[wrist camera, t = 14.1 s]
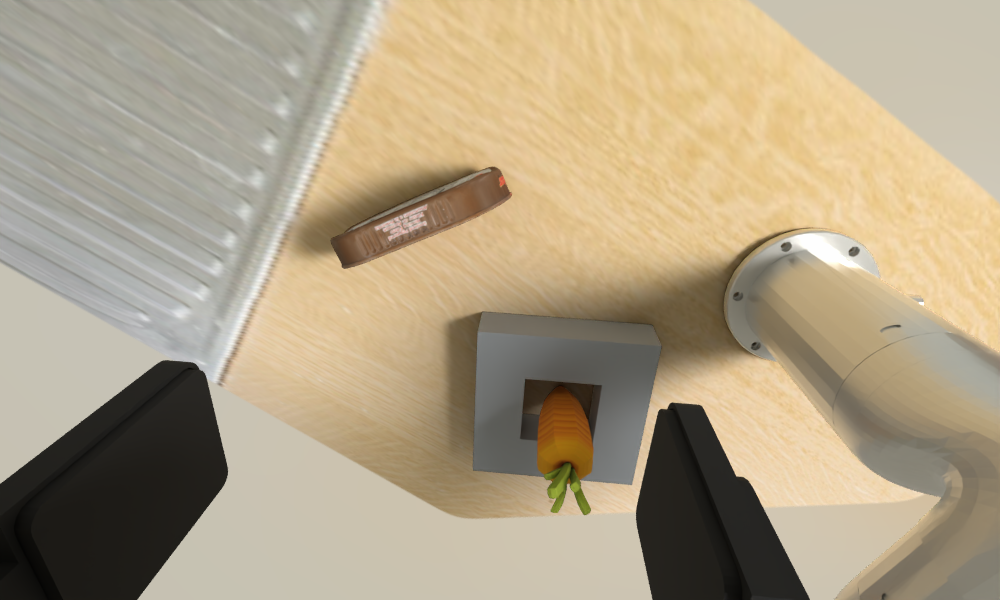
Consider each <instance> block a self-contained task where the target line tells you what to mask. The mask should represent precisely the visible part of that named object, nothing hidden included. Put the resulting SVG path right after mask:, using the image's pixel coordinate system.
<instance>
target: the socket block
mask: <svg viewBox="0 0 1000 600" xmlns="http://www.w3.org/2000/svg"><path fill="white" fill-rule="evenodd" d="M661 347H662V346H661V343H660V341H659V339H658V337H657V334H656V332H655V330H654V328H653V325H649V324H636V323H623V322H610V321H597V320H584V319H571V318H558V317H545V316H532V315H519V314H506V313H493V312H482V316H481V320H480V324H479V328H478V336H477V365H476V393H475V422H474V450H473V470H474V471H485V472H496V473H507V474H518V475H529V476H540V477H544V474H542V473H541V472H540V471H539V470H538V468H537V443H538V425H539V417H540V415H532V414H522V410H523V398H524V387H525V379H533V380H545V381H557V382H569V383H581V384H593V385H594V389H593V395H592V401H591V408H590V414H589V419H587V420H588V424H589V428H590V433H591V438H592V443H593V448H594V452H593V465H592V472H591V473H590V474H589V475H587V476H586V477H584V478H583V479H581V480H584V481H595V482H606V483H616V484H627V485H632V482H633V477H634V473H635V468H636V463H637V459H638V454H639V449H640V445H641V440H642V436H643V431H644V426H645V422H646V417H647V412H648V408H649V403H650V398H651V394H652V389H653V384H654V380H655V375H656V370H657V366H658V361H659V356H660V352H661Z"/></svg>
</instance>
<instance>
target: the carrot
mask: <svg viewBox="0 0 1000 600" xmlns="http://www.w3.org/2000/svg"><path fill="white" fill-rule="evenodd" d="M593 452H594V448H593V443H592V438H591V433H590V428H589V424H588V420H587V418H586V415H585V413H584V411H583V409H582V407H581V405H580V403H579V401H578V400H577V399H576V398H575V396H574V395H573V394H572V393H570V392H569V391H568V390H567V389H566V388H565V387H563V386H558V387H556V388H555V389H554V390H553V391H552V392H551V393H550V394H549V395H548V396H547V398H546V399H545V400H544V403H543V406H542V409H541V413H540V417H539V425H538V443H537V468H538V470H539V471H540V472H541V473H542V474H544V478H545V479H546V480H551V481H552V483H551V484H550V486H549V487H548V489H547V492H548V496H549V498H552V499H554V498H556V501H555V503H554V505H553V507H552V509H551V512H553V513H558V512H559V510H560V508H561V506H562V504H563V501H564V498H565V494H566V490H567V484H570V488H571V490H572V491H573V492H574V494H575V497H576V500H577V503H578V505H579V507H580V509H581V511H582V513H583V514H584V515H587V514H588V513H590V511H591V508H590V506H589V504H588V502H587V500H586V498H585V496H584V494H583V492H582V490H581V488H580V487H581V482H580V480H581V479H583V478H584V477H586V476H587V475H589V474H590V473H591V472H592V465H593Z"/></svg>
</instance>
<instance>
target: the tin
mask: <svg viewBox="0 0 1000 600" xmlns="http://www.w3.org/2000/svg"><path fill="white" fill-rule="evenodd" d="M511 196H512V193H511V192H509V190H508V187H507V185H506V182H505V180H504V177H503V175H502V173H501V171H500V170H499V169H498V168H496V167H489V168H486V169H483V170H480V171H478V172H475V173H473V174H470V175H468V176H465V177H463V178H460V179H458V180H456V181H453V182H451V183H448V184H446V185H444V186H441V187H439V188H436V189H434V190H431V191H429V192H426V193H424V194H422V195H419V196H417V197H415V198H412V199H410V200H408V201H406V202H403V203H401V204H399V205H397V206H394V207H392V208H390V209H388V210H386V211H383V212H381V213H379V214H377V215H375V216H372V217H370V218H368V219H366V220H364V221H362V222H360V223H358V224H356V225H354V226H352V227H350V228H349V229H348V230H346V231H345V232H344V233H343V234H341V235H339V236H336V237H333V238H332V239H331V244H332V246H333V248H334V250H335V252H336V254H337V256H338V258H339V260H340V261H341V263H342V268H344V269H347V268H351V267H355V266H358V265H360V264H363V263H366V262H368V261H371V260H374V259H376V258H379V257H381V256H384V255H386V254H388V253H391V252H394V251H396V250H399V249H401V248H403V247H406V246H408V245H411V244H413V243H416V242H418V241H421V240H423V239H426V238H428V237H431V236H433V235H436V234H438V233H440V232H443V231H446V230H448V229H451V228H453V227H456V226H458V225H461V224H463V223H465V222H467V221H470V220H472V219H474V218H476V217H478V216H480V215H482V214H484V213H486V212H488V211H490V210H492V209H494V208H496V207H497V206H499V205H501V204H502V203H504V202H505V201H507V200H508V199H509V198H510V197H511Z"/></svg>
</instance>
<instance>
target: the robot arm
mask: <svg viewBox="0 0 1000 600" xmlns="http://www.w3.org/2000/svg"><path fill="white" fill-rule="evenodd" d="M783 243H784V245H782V244H783ZM781 245H782V246H781ZM736 292H737V293H736ZM735 293H736V294H735ZM724 315H725V320H726V323H727V325H728V328H729V330H730V331H731V333H732V334H733V336H734V337H735V339H736V340H737V341H738V342H739V343H740V345H741V346H742V347H744V348H745V349H746V350H747V351H749V352H750V353H752V354H754V355H756V356H758V357H760V358H763V359H767V360H771V361H775V362H778V363H779V364H780V365H781V366H782V368H783V369H784V370H785V371H786V373H787V374H788V375H789V376H790V378H791V379H792V380H793V381H794V382H795V384H796V385H797V386H798V387H799V389H800V390H801V391H802V392H803V393H804V395H805V396H806V397H807V398H808V400H809V401H810V402H811V403H812V404H813V406H814V407H815V408H816V409H817V411H818V412H819V413H820V414H821V415H822V417H823V418H824V419H825V420H826V422H827V423H828V424H829V425H830V426H831V428H832V429H833V430H834V431H835V433H836V434H837V435H838V436H839V437H840V439H841V440H842V441H843V443H844V444H845V445H846V446H847V447H848V449H849V450H850V451H851V452H852V453H853V454H854V456H855V457H856V458H857V459H858V460H859V461H860V462H861V463H862V464H864V465H865V466H866V467H868V468H869V469H870V470H871V471H873V472H874V473H876V474H877V475H879V476H881V477H883V478H884V479H886V480H888V481H890V482H892V483H894V484H897V485H900V486H902V487H905V488H908V489H911V490H914V491H917V492H921V493H925V494H929V495H933V496H937V497H941V500H940V501H939V502H938V503H937V504H936V505H935V506H934V507H933V508H932V509H931V510H930V511H929V512H928V513H927V514H926V515H924V516H923V517H922V518H921V519H920V520H919V522H918V524H917V525H916V526H915V527H914V528H912V529H911V530H910V531H909V532H908V533H907V534H905V535H904V536H903V537H902V538H900V539H899V540H898V541H897V542H896V543H895V544H894V545H892V546H891V547H890V548H889V549H888V550H886V551H885V552H884V553H883V554H882V555H881V556H879V557H878V558H877V559H876V560H875V561H873V562H872V563H871V564H870V565H869V566H868V567H866V568H865V569H864V570H863V571H862V572H860V573H859V574H858V575H857V576H856V577H855V578H854V579H853V580H851V581H850V582H849V584H847V585H846V586H845V587H844V588H843V589H842V590H841V591H840V593H839V594H838V595H837V597H836V598H835V600H1000V352H999V351H997V350H996V349H994V348H992V347H991V346H989V345H987V344H986V343H984V342H982V341H981V340H979V339H978V338H976V337H974V336H973V335H971V334H969V333H968V332H966V331H964V330H963V329H961V328H960V327H958V326H956V325H955V324H953V323H951V322H950V321H948V320H946V319H945V318H943V317H942V316H940V315H938V314H937V313H935V312H933V311H932V310H930V309H928V308H927V307H925V306H924V301H923V298H922V297H921V296H919V295H907V294H904V293H902V292H901V291H899V290H897V289H896V288H894V287H893V286H891V285H889V284H888V283H886V282H884V281H883V280H881V276H880V272H879V268H878V265H877V263H876V261H875V259H874V257H873V255H872V254H871V253H870V252H869V251H868V250H867V249H866V247H865V246H864V245H862V244H861V243H859V242H858V241H856V240H855V239H853V238H851V237H849V236H847V235H845V234H843V233H840V232H837V231H833V230H829V229H819V228H809V229H800V230H795V231H791V232H788V233H784V234H781V235H779V236H777V237H775V238H773V239H770V240H768V241H767V242H765V243H764V244H762V245H761V246H759V247H758V248H756V249H755V250H754V251H752V252H751V253H750V254H749V255H748V256H747V257H746V258H745V259H744V260H743V261H742V262H741V264H740V265H739V266H738V267H737V269H736V270H735V272H734V273H733V275H732V277H731V279H730V281H729V283H728V286H727V289H726V292H725V297H724ZM227 475H228V467H227V463H226V459H225V454H224V450H223V446H222V442H221V437H220V433H219V429H218V425H217V420H216V416H215V412H214V408H213V404H212V399H211V395H210V391H209V387H208V382H207V378H206V375H205V373H204V372H203V371H201V370H199V368H198V366H197V365H196V364H194V363H192V362H181V361H169V360H165V361H161V362H160V363H158V364H156V365H155V366H154V367H152V368H151V369H150V370H148V371H147V372H146V373H144V374H143V375H142V376H141V377H139V378H138V379H137V380H135V381H134V382H133V383H131V384H130V385H129V386H127V387H126V388H125V389H124V390H122V391H121V392H120V393H119V394H117V395H116V396H114V397H113V398H112V399H110V400H109V401H108V402H107V403H105V404H104V405H103V406H101V407H100V408H99V409H97V410H96V411H95V412H94V413H92V414H91V415H90V416H88V417H87V418H86V419H84V420H83V421H82V422H81V423H79V424H78V425H77V426H75V427H74V428H73V429H71V430H70V431H69V432H67V433H66V434H65V435H64V436H62V437H61V438H60V439H58V440H57V441H56V442H54V443H53V444H52V445H50V446H49V447H48V448H46V449H45V450H44V451H43V452H41V453H40V454H39V455H37V456H36V457H35V458H33V459H32V460H31V461H29V462H28V463H27V464H26V465H24V466H23V467H22V468H20V469H19V470H18V471H16V472H15V473H14V474H13V475H11V476H10V477H9V478H7V479H6V480H5V481H4V482H2V483H1V484H0V600H137V599H138V598H139V597H140V595H141V594H142V593H143V591H144V590H145V589H146V587H147V586H148V585H149V583H150V582H151V581H152V579H153V578H154V577H155V575H156V574H157V573H158V572H159V570H160V569H161V568H162V566H163V565H164V563H165V562H166V561H167V560H168V558H169V557H170V556H171V554H172V553H173V552H174V551H175V549H176V548H177V546H178V545H179V544H180V543H181V541H182V540H183V539H184V537H185V536H186V535H187V533H188V532H189V531H190V530H191V528H192V527H193V526H194V524H195V523H196V522H197V520H198V519H199V518H200V516H201V515H202V514H203V512H204V511H205V510H206V508H207V507H208V506H209V505H210V503H211V502H212V501H213V499H214V498H215V497H216V495H217V494H218V493H219V491H220V490H221V489H222V487H223V486H224V484H225V482H226V479H227ZM636 521H637V529H638V533H639V538H640V542H641V547H642V552H643V557H644V561H645V566H646V571H647V576H648V580H649V585H650V590H651V594H652V599H653V600H810V599H809V597H808V595H807V593H806V591H805V589H804V587H803V585H802V583H801V581H800V579H799V577H798V575H797V573H796V571H795V569H794V567H793V565H792V563H791V562H790V559H789V557H788V556H787V554H786V552H785V550H784V548H783V546H782V544H781V542H780V540H779V538H778V536H777V534H776V532H775V530H774V528H773V526H772V524H771V522H770V520H769V518H768V516H767V515H766V513H765V511H764V509H763V507H762V505H761V503H760V501H759V499H758V497H757V495H756V493H755V491H754V489H753V487H752V486H751V484H750V483H749V481H748V480H747V479H745V478H744V477H736V475H735V473H734V471H733V469H732V467H731V465H730V462H729V460H728V458H727V456H726V454H725V452H724V450H723V448H722V446H721V444H720V442H719V440H718V438H717V436H716V434H715V431H714V429H713V427H712V425H711V423H710V421H709V419H708V417H707V415H706V413H705V411H704V409H703V407H702V406H700V405H694V404H682V403H670V405H669V406H668V409H667V410H666V409H660V410H659V412H658V415H657V419H656V424H655V428H654V433H653V437H652V442H651V446H650V450H649V455H648V459H647V464H646V468H645V473H644V477H643V481H642V486H641V490H640V495H639V499H638V504H637V509H636Z"/></svg>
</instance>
